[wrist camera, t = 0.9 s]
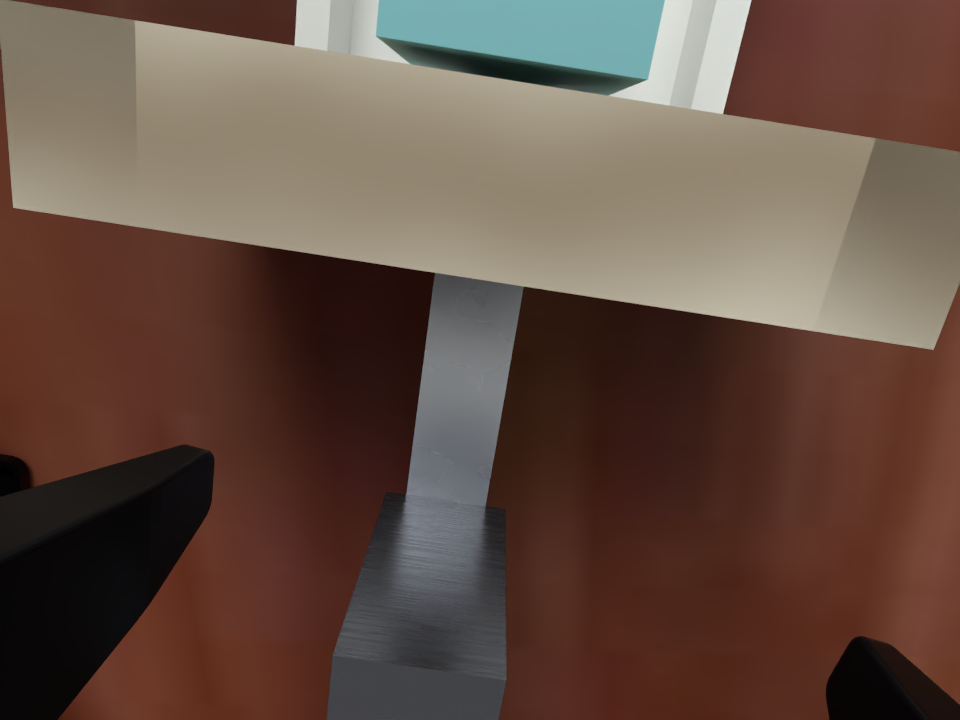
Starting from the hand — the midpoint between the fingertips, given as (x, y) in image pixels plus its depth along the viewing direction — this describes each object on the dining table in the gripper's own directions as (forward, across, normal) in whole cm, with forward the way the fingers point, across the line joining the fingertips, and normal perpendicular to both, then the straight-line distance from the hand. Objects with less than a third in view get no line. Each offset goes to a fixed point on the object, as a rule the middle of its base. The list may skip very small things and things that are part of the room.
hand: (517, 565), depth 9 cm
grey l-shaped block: (+9, +2, -2) cm, 9 cm away
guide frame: (+13, +3, -4) cm, 14 cm away
